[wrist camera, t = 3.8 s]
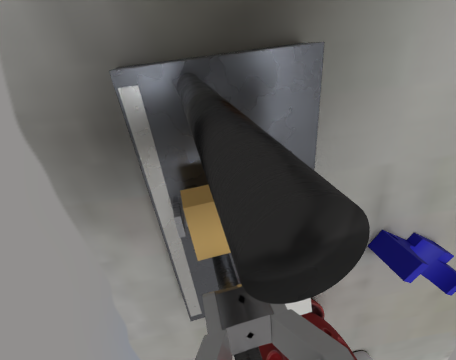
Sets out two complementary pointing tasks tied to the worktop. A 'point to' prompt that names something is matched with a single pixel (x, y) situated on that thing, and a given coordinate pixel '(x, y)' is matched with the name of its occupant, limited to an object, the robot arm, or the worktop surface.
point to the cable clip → (416, 259)
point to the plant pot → (273, 356)
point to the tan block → (204, 223)
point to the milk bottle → (362, 355)
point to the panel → (250, 92)
